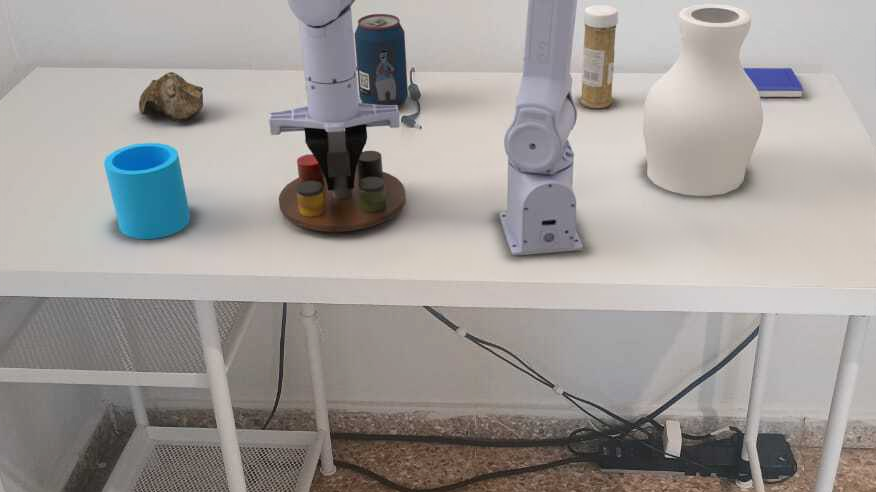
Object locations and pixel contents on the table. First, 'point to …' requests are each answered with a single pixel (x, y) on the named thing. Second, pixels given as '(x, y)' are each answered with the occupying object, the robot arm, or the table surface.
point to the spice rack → (341, 191)
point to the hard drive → (775, 82)
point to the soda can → (381, 60)
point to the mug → (147, 190)
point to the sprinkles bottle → (598, 55)
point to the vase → (704, 107)
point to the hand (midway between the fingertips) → (340, 185)
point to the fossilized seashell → (171, 98)
